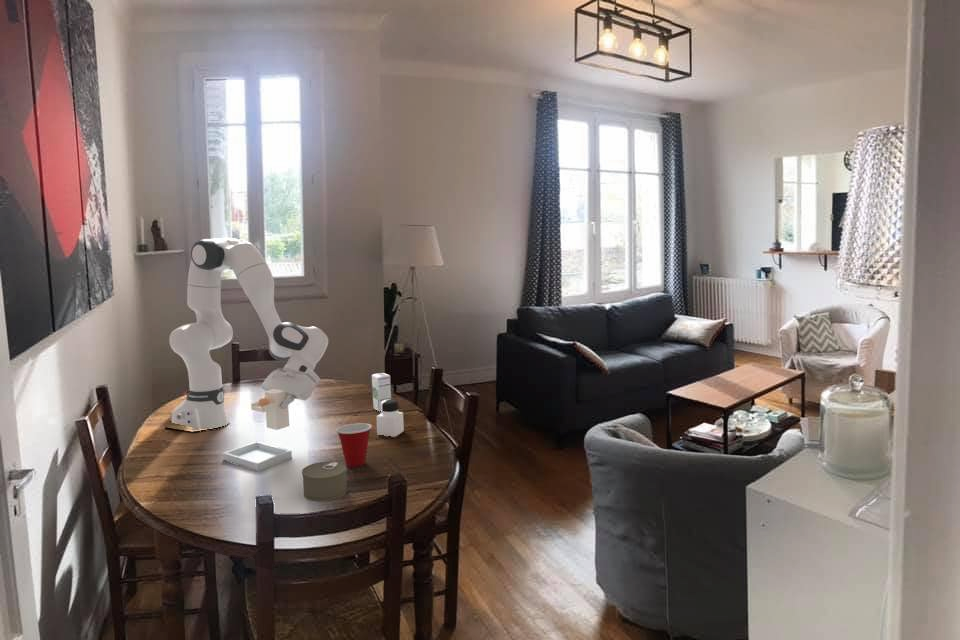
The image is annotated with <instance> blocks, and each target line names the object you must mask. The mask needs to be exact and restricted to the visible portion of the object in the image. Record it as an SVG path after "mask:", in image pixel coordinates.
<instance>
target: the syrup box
mask: <svg viewBox="0 0 960 640" xmlns="http://www.w3.org/2000/svg"><path fill="white" fill-rule="evenodd" d="M371 388H372V389H371V390H372V407H373V408H372V409H373V410H374V409H375V410H374V411H376V410H377V411H376V412H378V411H379V412H378V413H381V412H380V411H381V402H382V401H384V400H388V399H392V392H391V391H392V389H391V388H392V387H391V375H390V374H387V373H385V372H380V373H374V374H371Z"/></svg>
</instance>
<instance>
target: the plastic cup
mask: <svg viewBox="0 0 960 640" xmlns="http://www.w3.org/2000/svg"><path fill="white" fill-rule="evenodd" d="M371 429H372V424H370V423H365V422H363V423H361V422H359V423H358V422H356V423H350V424H344V425H341V426H338V427H337V428H336V429H335V431H336V433H337V434H338V437H339V441H340V443H341V444H340V446H341V449H342V453H343V456H344V461H345V465H346V467H349V468H358V467H362V466H364V465H365V464H366V459H367V458H366V457H367V453H368V445H369V437H370V432H371Z"/></svg>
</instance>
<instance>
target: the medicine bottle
mask: <svg viewBox="0 0 960 640" xmlns="http://www.w3.org/2000/svg"><path fill="white" fill-rule="evenodd" d="M404 425H405V424H404V412H403V411H399V401H398V400H396V399H392V398H391V399H388V400H384V401H382V402H381V412H380V414H378V415H376V435H377V436H379V435H384V436H383V437H388V436H391V438H396V437H397V436H399V435H400V434H402V433H403V432H404V431H405V430H404V428H405V427H404Z"/></svg>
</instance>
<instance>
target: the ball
mask: <svg viewBox="0 0 960 640" xmlns="http://www.w3.org/2000/svg"><path fill="white" fill-rule="evenodd" d="M258 401H259V405H260V406H261V407H263V406H265V405H268V404H269V400H268V398H266V397H265V396H264V397H261V398H260V399H258Z"/></svg>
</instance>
